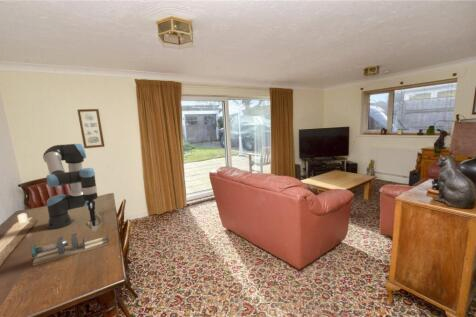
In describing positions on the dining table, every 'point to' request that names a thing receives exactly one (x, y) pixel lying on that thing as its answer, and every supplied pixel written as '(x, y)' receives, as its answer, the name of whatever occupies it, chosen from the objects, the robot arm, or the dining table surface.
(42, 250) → the shaft
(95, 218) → the bone
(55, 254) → the board
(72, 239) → the grey angular blocks
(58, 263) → the dining table surface
